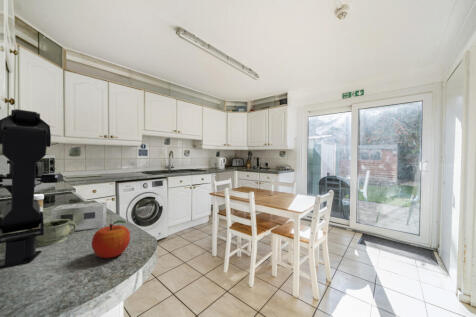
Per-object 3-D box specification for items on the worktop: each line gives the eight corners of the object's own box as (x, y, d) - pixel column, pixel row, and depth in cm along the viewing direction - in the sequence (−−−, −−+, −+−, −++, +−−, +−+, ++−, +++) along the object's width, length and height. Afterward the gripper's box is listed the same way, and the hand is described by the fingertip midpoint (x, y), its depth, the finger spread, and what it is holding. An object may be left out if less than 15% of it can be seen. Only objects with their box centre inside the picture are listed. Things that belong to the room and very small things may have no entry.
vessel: (73, 232, 72) (74, 216, 72) (78, 239, 66) (79, 221, 66) (26, 242, 63) (27, 224, 63) (28, 251, 57) (28, 230, 57)
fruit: (97, 250, 59) (98, 217, 59) (132, 245, 62) (133, 215, 62) (85, 266, 50) (86, 228, 50) (126, 260, 53) (127, 224, 53)
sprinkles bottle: (43, 225, 80) (44, 193, 80) (41, 228, 76) (43, 195, 76) (27, 227, 77) (29, 194, 77) (25, 230, 73) (26, 196, 73)
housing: (102, 227, 78) (103, 206, 78) (50, 234, 70) (51, 209, 70) (106, 221, 85) (106, 202, 85) (59, 227, 78) (60, 205, 78)
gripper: (69, 158, 72) (67, 198, 72) (-2, 157, 64) (-4, 202, 64) (57, 158, 62) (56, 204, 62) (-29, 156, 54) (-31, 210, 54)
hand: (21, 205), depth 61 cm, fingers closed
